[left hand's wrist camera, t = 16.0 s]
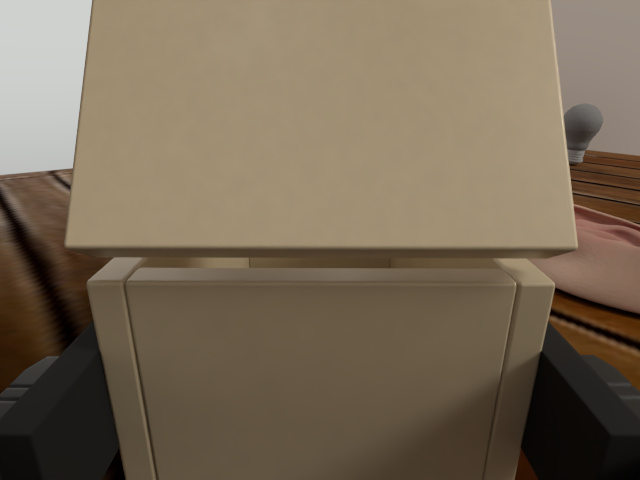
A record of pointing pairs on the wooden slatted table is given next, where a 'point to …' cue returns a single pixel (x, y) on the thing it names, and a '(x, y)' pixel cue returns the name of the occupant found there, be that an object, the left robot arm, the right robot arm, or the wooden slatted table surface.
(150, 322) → the chest
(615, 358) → the wooden slatted table surface
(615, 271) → the anatomical model
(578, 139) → the light bulb
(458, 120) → the lid
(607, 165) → the wooden slatted table surface
